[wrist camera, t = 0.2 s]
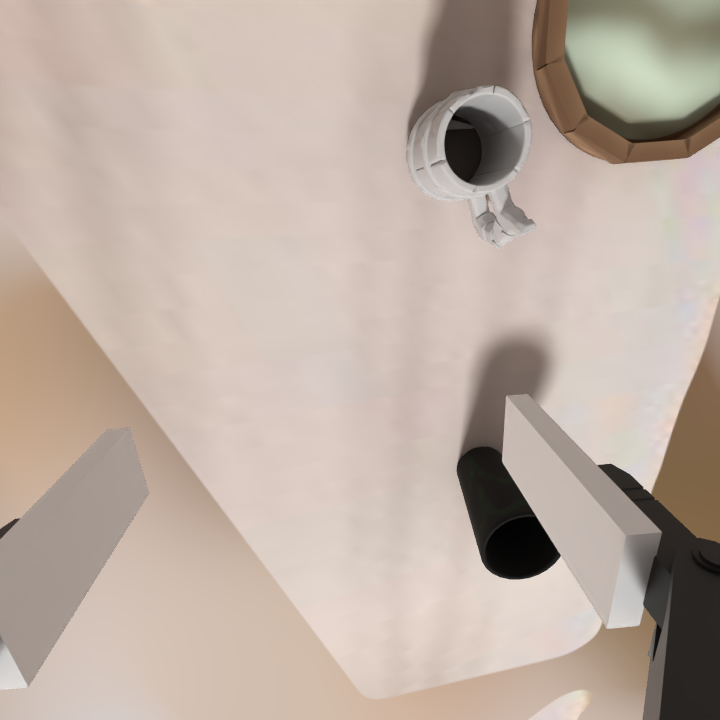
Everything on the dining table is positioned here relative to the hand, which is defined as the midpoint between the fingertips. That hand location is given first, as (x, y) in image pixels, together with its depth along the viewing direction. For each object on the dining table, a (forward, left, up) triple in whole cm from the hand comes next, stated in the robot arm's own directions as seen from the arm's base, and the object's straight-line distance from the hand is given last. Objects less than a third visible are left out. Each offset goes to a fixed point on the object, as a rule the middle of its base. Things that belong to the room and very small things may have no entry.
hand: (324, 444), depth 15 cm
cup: (+22, +15, -28) cm, 38 cm away
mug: (-9, +12, -28) cm, 31 cm away
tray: (-19, +28, -27) cm, 43 cm away
